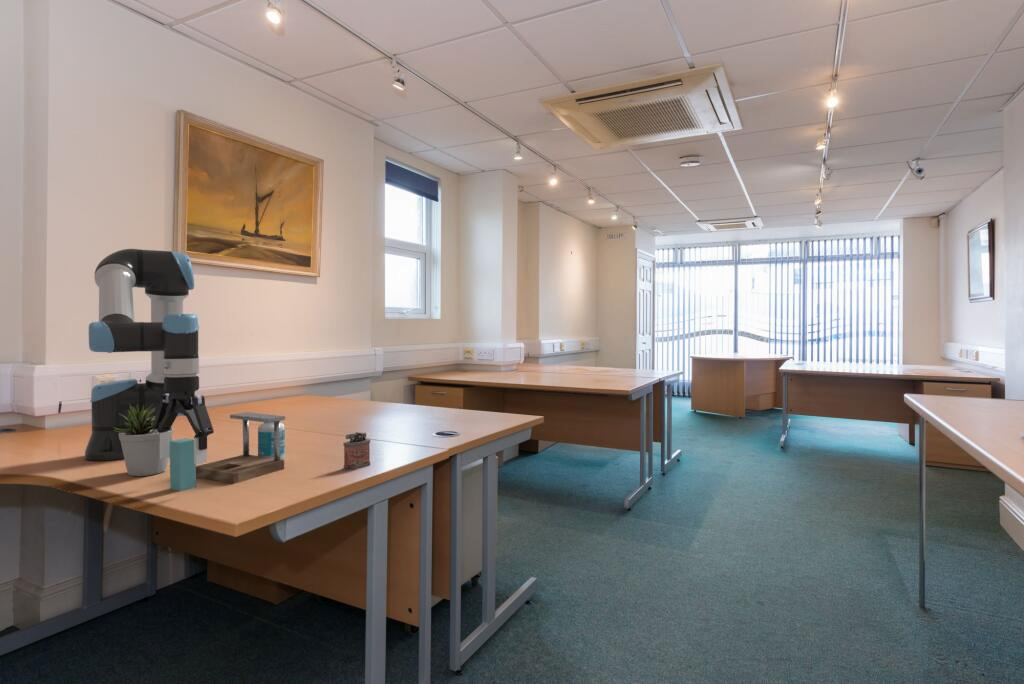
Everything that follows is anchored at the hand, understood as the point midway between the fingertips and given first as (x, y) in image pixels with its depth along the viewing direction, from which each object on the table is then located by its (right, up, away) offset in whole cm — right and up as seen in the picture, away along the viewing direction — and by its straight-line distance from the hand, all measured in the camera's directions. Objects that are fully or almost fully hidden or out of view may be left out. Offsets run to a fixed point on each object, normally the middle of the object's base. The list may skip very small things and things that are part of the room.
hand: (183, 460), depth 134 cm
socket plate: (+7, -7, +15) cm, 18 cm away
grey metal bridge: (+9, -6, +20) cm, 23 cm away
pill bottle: (+10, -7, +28) cm, 30 cm away
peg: (0, -7, 0) cm, 7 cm away
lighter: (+37, -7, +21) cm, 44 cm away
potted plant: (-19, -7, +14) cm, 25 cm away
